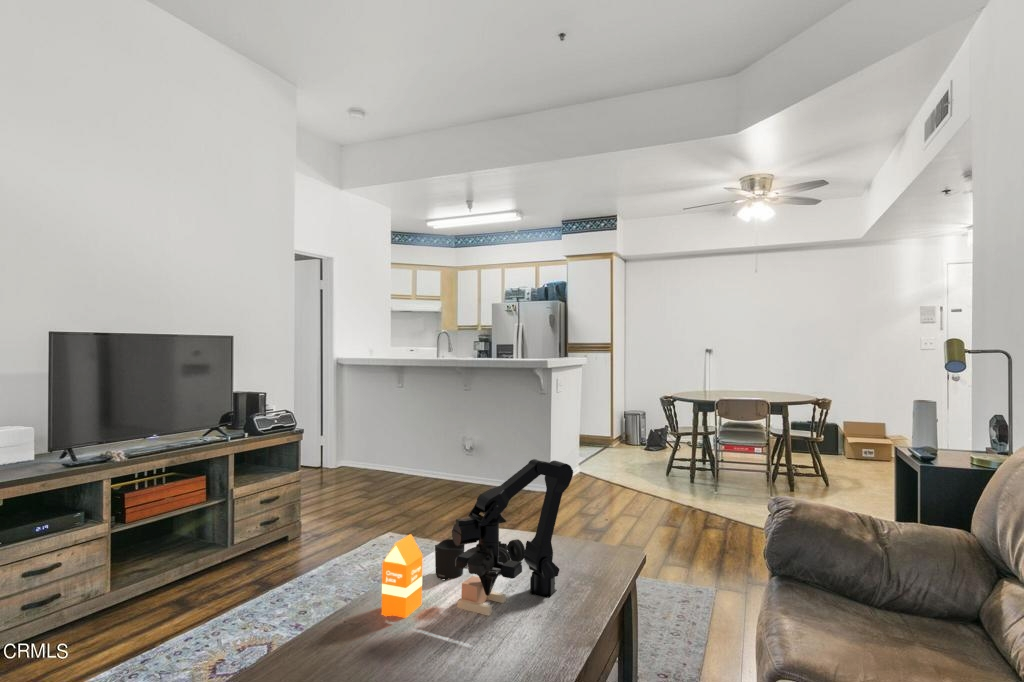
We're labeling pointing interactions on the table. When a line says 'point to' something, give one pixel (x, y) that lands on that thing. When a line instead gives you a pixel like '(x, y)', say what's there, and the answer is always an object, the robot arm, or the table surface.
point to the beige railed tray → (481, 607)
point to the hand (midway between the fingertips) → (487, 595)
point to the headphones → (513, 552)
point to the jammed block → (473, 590)
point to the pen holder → (447, 559)
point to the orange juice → (402, 579)
